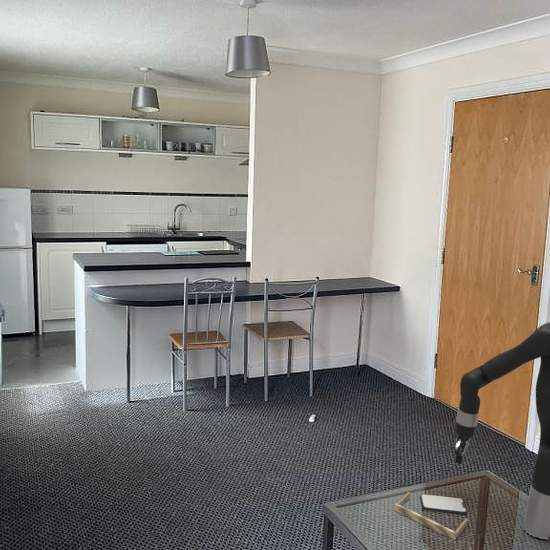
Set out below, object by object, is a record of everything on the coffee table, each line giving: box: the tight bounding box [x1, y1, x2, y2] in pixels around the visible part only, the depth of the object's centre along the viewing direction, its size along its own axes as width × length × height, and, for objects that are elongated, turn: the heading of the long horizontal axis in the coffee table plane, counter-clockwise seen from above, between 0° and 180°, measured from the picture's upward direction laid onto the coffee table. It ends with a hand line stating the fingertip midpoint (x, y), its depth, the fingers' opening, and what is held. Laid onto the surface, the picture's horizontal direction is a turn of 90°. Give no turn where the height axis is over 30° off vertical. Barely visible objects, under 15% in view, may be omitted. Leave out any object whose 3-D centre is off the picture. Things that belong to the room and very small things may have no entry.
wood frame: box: [393, 491, 469, 541], centre depth 214 cm, size 23×11×2 cm, turn 53°
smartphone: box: [419, 493, 468, 516], centre depth 222 cm, size 9×2×16 cm
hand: (458, 462), depth 226 cm, fingers closed
